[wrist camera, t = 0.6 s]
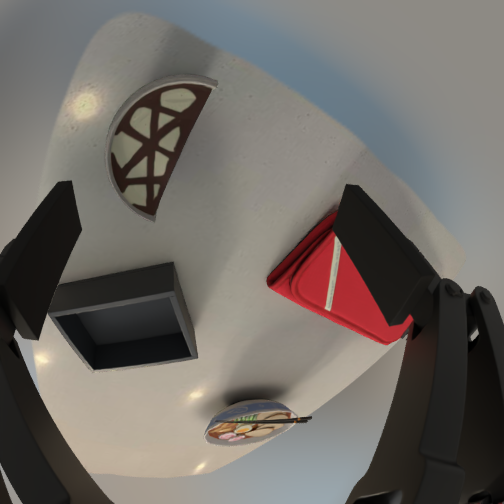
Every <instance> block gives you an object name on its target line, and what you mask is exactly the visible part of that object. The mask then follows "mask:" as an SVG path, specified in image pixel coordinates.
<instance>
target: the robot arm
mask: <svg viewBox="0 0 504 504" xmlns="http://www.w3.org/2000/svg"><path fill="white" fill-rule="evenodd" d="M332 230H333V232H334V233H335V235H336V236H337V238H338V240H339V241H340V243H341V244H342V246H343V248H344V249H345V251H346V252H347V254H348V256H349V257H350V259H351V261H352V262H353V264H354V266H355V267H356V269H357V271H358V272H359V274H360V276H361V277H362V279H363V281H364V282H365V284H366V286H367V288H368V289H369V291H370V293H371V295H372V296H373V298H374V300H375V302H376V304H377V305H378V307H379V309H380V311H381V313H382V314H383V316H384V318H385V320H386V322H387V324H388V326H389V327H390V326H395V325H400V324H403V323H404V322H405V320H406V319H407V317H408V316H409V315H411V316H412V318H413V321H412V322H411V324H410V325H409V326H408V328H407V329H406V330H405V332H404V333H403V334H402V336H401V338H404V337H405V335H407V334H408V337H407V339H406V340H407V343H406V347H405V352H404V357H403V362H402V366H401V370H400V375H399V378H398V383H397V386H396V390H395V393H394V397H393V401H392V404H391V407H390V411H389V414H388V417H387V420H386V423H385V426H384V429H383V433H382V435H381V438H380V441H379V443H378V446H377V449H376V452H375V454H374V457H373V459H372V462H371V464H370V466H369V469H368V471H367V472H366V474H365V475H364V476H363V477H362V478H361V479H360V480H359V481H358V482H357V484H356V485H355V486H354V488H353V490H352V491H351V493H350V495H349V497H348V499H347V501H346V503H345V504H504V324H503V321H502V318H501V316H500V313H499V310H498V307H497V305H496V302H495V300H494V298H493V296H492V295H491V293H490V292H489V291H488V290H487V289H485V288H483V287H481V286H477V287H475V289H474V290H473V292H472V293H471V294H466V293H464V292H463V290H462V289H461V287H460V286H459V285H458V284H457V283H455V282H454V281H452V280H450V279H447V278H443V279H441V278H440V276H439V275H438V274H437V272H436V271H435V270H434V268H433V267H432V266H431V265H430V263H429V262H428V261H427V260H426V258H425V259H424V256H423V255H422V253H421V252H419V250H418V248H417V247H416V246H415V245H414V244H413V243H412V242H411V241H410V240H409V239H407V238H406V237H405V236H404V235H403V233H402V232H401V231H400V230H399V229H398V228H397V226H396V225H395V224H394V223H393V222H392V221H391V220H390V218H389V217H388V216H387V215H386V214H385V213H384V212H383V211H382V210H381V209H380V207H379V206H378V205H377V204H376V203H375V202H374V201H373V200H372V199H371V198H370V197H369V196H368V195H367V194H366V193H365V192H364V191H363V190H362V188H361V187H360V186H359V185H350V184H346V186H345V189H344V192H343V196H342V199H341V202H340V205H339V209H338V212H337V215H336V218H335V221H334V224H333V227H332ZM81 231H82V227H81V223H80V219H79V215H78V210H77V205H76V200H75V195H74V190H73V185H72V181H61V182H58V183H57V184H56V185H55V186H54V187H53V189H52V190H51V191H50V192H49V194H48V195H47V196H46V197H45V199H44V200H43V201H42V202H41V204H40V205H39V206H38V208H37V209H36V210H35V212H34V213H33V214H32V216H31V217H30V218H29V220H28V222H27V223H26V224H25V225H24V227H23V228H22V230H21V231H20V233H19V234H18V235H17V237H16V238H15V239H13V240H12V241H11V242H10V243H9V244H7V245H6V246H5V248H4V249H3V251H2V252H1V254H0V463H1V466H2V468H3V470H4V472H5V474H6V475H7V477H8V479H9V481H10V483H11V485H12V487H13V488H14V490H15V492H16V494H17V495H18V497H19V498H20V500H21V502H22V503H23V504H114V503H113V502H112V501H111V500H110V499H109V498H108V497H107V496H106V495H105V494H104V493H103V491H102V490H101V489H100V488H99V486H98V485H97V484H96V483H95V481H94V480H93V479H92V478H91V476H90V475H89V474H88V472H87V471H86V470H85V468H84V467H83V466H82V464H81V463H80V461H79V460H78V459H77V457H76V456H75V454H74V453H73V451H72V450H71V448H70V447H69V445H68V444H67V442H66V441H65V439H64V438H63V436H62V434H61V433H60V431H59V429H58V428H57V426H56V424H55V423H54V421H53V419H52V417H51V415H50V414H49V412H48V410H47V408H46V406H45V404H44V402H43V400H42V399H41V397H40V395H39V392H38V390H37V388H36V387H35V384H34V382H33V380H32V378H31V376H30V373H29V371H28V369H27V366H26V364H25V361H24V359H23V356H22V354H21V351H20V348H19V346H18V343H17V341H16V340H15V338H14V337H13V336H14V333H15V330H16V329H17V331H18V332H19V334H20V335H21V336H22V338H24V339H31V340H38V341H39V337H40V334H41V331H42V327H43V324H44V321H45V318H46V315H47V312H48V309H49V307H50V304H51V301H52V298H53V296H54V293H55V290H56V288H57V285H58V283H59V280H60V278H61V275H62V273H63V270H64V268H65V266H66V263H67V261H68V259H69V257H70V254H71V252H72V250H73V248H74V246H75V244H76V241H77V239H78V237H79V235H80V233H81ZM477 328H478V332H479V335H478V336H477V337H476V338H475V339H474V340H473V341H471V338H470V336H471V335H472V334H473V333H474V332H475V331H476V329H477ZM0 504H13V503H12V501H11V499H10V496H9V493H8V491H7V488H6V485H5V482H4V479H3V476H2V473H1V470H0Z"/></svg>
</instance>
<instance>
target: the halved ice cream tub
mask: <svg viewBox="0 0 504 504" xmlns="http://www.w3.org/2000/svg"><path fill="white" fill-rule="evenodd" d="M217 85H218V81H217V80H214V79H211V78H208V77H204V76H198V75H174V76H167V77H164V78H161V79H158V80H155V81H153V82H151V83H149V84H147V85H145V86H143V87H142V88H140V89H139V90H137V91H136V92H135V93H133V94H132V95H131V96H130V97H129V98H128V99H127V100H126V101H125V102H124V103H123V104H122V106H121V107H120V109H119V110H118V112H117V113H116V115H115V117H114V119H113V121H112V123H111V125H110V128H109V131H108V135H107V139H106V147H105V165H106V170H107V174H108V178H109V180H110V183H111V185H112V187H113V189H114V191H115V192H116V194H117V195H118V197H119V198H120V199H121V200H122V202H123V203H124V204H125V205H126V206H127V207H128V208H129V209H130V210H132V211H133V212H134V213H135V214H137V215H138V216H140V217H142V218H143V219H145V220H148V221H150V222H152V223H155V218H156V212H157V209H158V206H159V202H160V200H161V197H162V195H163V192H164V190H165V188H166V185H167V183H168V181H169V178H170V176H171V174H172V171H173V169H174V167H175V165H176V163H177V160H178V158H179V156H180V154H181V152H182V149H183V147H184V145H185V143H186V141H187V138H188V136H189V134H190V132H191V130H192V128H193V126H194V124H195V122H196V120H197V118H198V116H199V114H200V112H201V110H202V108H203V107H204V105H205V103H206V101H207V99H208V97H209V95H210V93H211V91H212V90H214V89H216V88H217Z"/></svg>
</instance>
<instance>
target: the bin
mask: <svg viewBox="0 0 504 504" xmlns="http://www.w3.org/2000/svg"><path fill="white" fill-rule="evenodd" d="M48 315H49V316H50V318H51V319H52V321H53V322H54V324H55V325H56V327H57V328H58V330H59V331H60V332H61V334H62V335H63V337H64V338H65V339H66V341H67V342H68V343H69V345H70V346H71V347H72V349H73V350H74V351H75V353H76V354H77V355H78V356H79V358H80V359H81V360H82V361H83V363H84V364H85V365H86V366H87V368H88V369H89V370H90V371H91V372H92V373H96V372H107V371H116V370H125V369H133V368H141V367H148V366H155V365H162V364H168V363H175V362H181V361H186V360H192V359H198V353H197V346H196V339H195V332H194V328H193V325H192V322H191V319H190V316H189V313H188V309H187V306H186V303H185V300H184V297H183V293H182V290H181V287H180V283H179V280H178V277H177V273H176V270H175V266H174V263H173V262H170V263H165V264H160V265H155V266H150V267H145V268H140V269H135V270H130V271H125V272H120V273H115V274H111V275H106V276H101V277H96V278H91V279H86V280H81V281H76V282H71V283H66V284H62V285H58V286H57V289H56V291H55V294H54V296H53V299H52V302H51V305H50V307H49V310H48Z"/></svg>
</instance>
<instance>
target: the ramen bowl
mask: <svg viewBox="0 0 504 504" xmlns="http://www.w3.org/2000/svg"><path fill="white" fill-rule="evenodd" d="M310 419H312V416H311V417H300V418H298V416H297V415H296V414H295V413H294V412H293V411H291V410H290V409H289V408H287V407H286V406H284V405H283V404H281V403H279V402H276V401H270V400H265V399H258V400H244V401H240V402H238V403H235V404H233V405H231V406H228V407H226V408H225V409H223V410H221V411H220V412H218V413H217V414H216V415H215V416H214V417H213V419H212V420H211V422H210V423H209V425H208V427H207V429H206V431H205V434H204V437H203V438H204V439H205V441H206V442H207V443H210V444H213V445H216V446H228V447H230V446H241V445H248V444H253V443H257V442H261V441H264V440H267V439H270V438H273V437H275V436H277V435H279V434H281V433H283V432H285V431H287V430H288V429H289V428H291V427H292V426H293V425H294V424H295V423H306V422H308V421H307V420H310Z"/></svg>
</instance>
